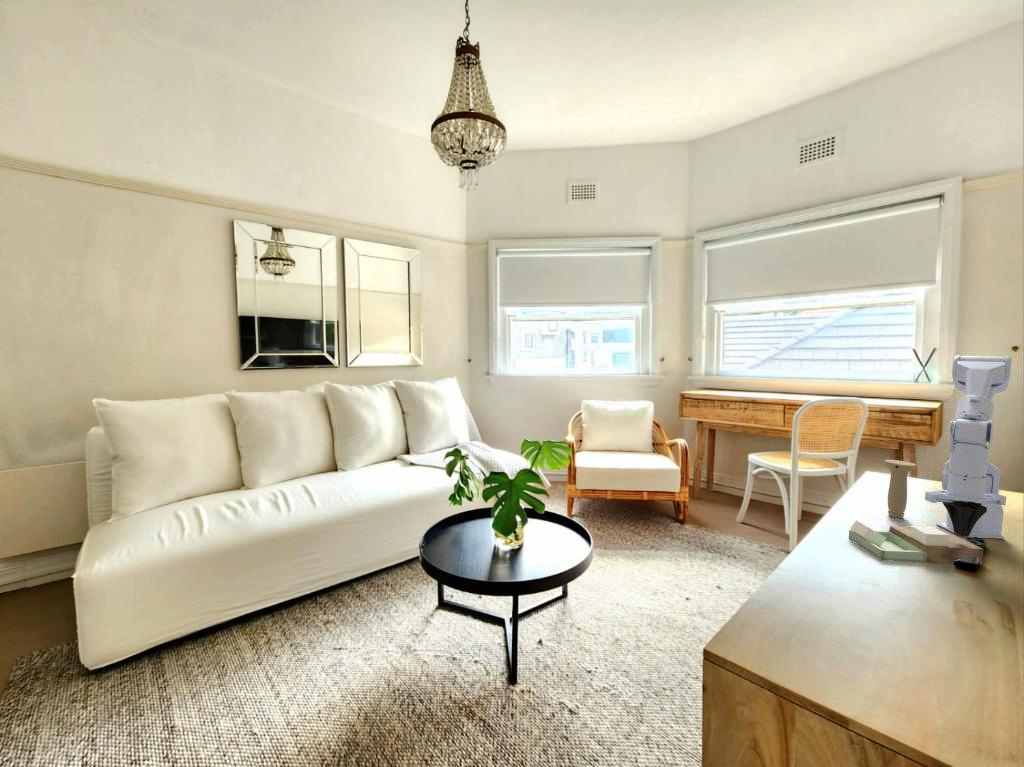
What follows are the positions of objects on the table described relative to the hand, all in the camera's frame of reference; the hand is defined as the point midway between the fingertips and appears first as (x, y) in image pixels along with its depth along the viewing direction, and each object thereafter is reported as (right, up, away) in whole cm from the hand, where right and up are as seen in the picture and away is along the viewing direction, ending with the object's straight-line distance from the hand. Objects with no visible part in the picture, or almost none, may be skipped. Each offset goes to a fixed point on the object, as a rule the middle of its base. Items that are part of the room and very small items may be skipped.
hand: (961, 534), depth 99 cm
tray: (-13, -5, +4) cm, 15 cm away
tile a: (-14, -1, +7) cm, 16 cm away
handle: (+6, -3, +24) cm, 25 cm away
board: (-3, -5, +3) cm, 7 cm away
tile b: (-6, -2, +1) cm, 7 cm away
